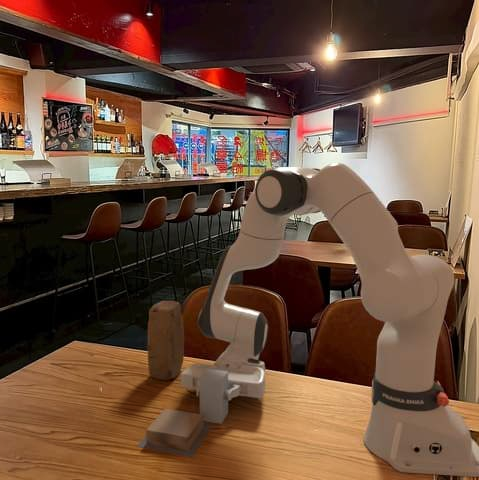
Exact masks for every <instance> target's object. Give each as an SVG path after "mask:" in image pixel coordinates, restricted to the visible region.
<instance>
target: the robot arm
mask: <svg viewBox="0 0 479 480" xmlns="http://www.w3.org/2000/svg"><path fill="white" fill-rule="evenodd" d="M320 212H321V213H322V215H324V216H323V217H325V219H326V220H327V221H328V223H329V224H330V226H331V227H332V228H333V230H334V231H335V232H336V234H337V236H338V237H339V239H340V240H341V242H343V244H344V246H345V247H346V249H347V250H348V252H349V254H350V255H351V257H352V259H353V261H354V263H355V266H356V269H357V271H358V275H359V278H360V281H361V287H360V288H361V289H360V297H361V302H362V305H363V307H364V309H365V310H366V311H367V313H368V314H369V315H370V316H372V317H373V318H374V319H376V320H378V321H380V322H383V323H384V325H383V327H382V329H381V331H380V333H379V335H378V338H377V341H376V358H375V359H376V360H375V361H376V362H375V364H376V365H375V372H374V374H373V376H372V380H371V381H372V382H371V402H372V405H371V411H370V417H369V419H368V424H367V427H366V429H365V432H364V434H363V442H364V445H365V446H366V448H367V449H368V450H369V451H370V452H372V453H373V454H374V455H376V456H377V457H379V458H380V459H383V460H384V461H386V462H387V463H388V464H390V465H391V466H392V468H393V469H394V470H396V471H397V472H400V473H410V474H411V473H412V474H424V475H425V474H427V475H440V476H455V477H469V478H470V477H472V478H473V477H474V478H478V477H479V445H478V444H477V442H476V441H475V440H474V439H472V436H471V431H470V428H469V426H468V425H467V422H466V421H465V420H464V418H463V417H462V416H461V414H459V413H458V412H456V410H454V409H453V408H452V407H450V406H449V403H450V400H449V397H448V395H447V394H446V393H445V391H444V388H443V387H442V386H441V383H440V382H439V380H436V381H435V379H434V378H435V368H436V354H437V348H438V342H439V338H440V333H441V330H442V327H443V323H444V319H445V315H446V310H447V305H448V301H449V298H450V295H451V292H452V289H454V285H455V273H454V272H453V269H452V268H451V266H450V265H449V264H448V262H447V261H445V260H444V259H442V258H440V257H438V256H436V255H435V256H434V255H431V254H430V255H429V254H415V255H412V256H410V255H409V253H408V251H407V250H406V248H405V246H404V244H403V241H402V239H401V237H400V234H399V223H398V221H397V220H396V219H395V218H394V216H393V215H392V214H391V213H390V211H389V210H388V209H387V207H385V204H383V203H382V201H381V200H380V199H379V197H378V196H377V194H376V193H375V192H374V191H373V189H372V188H371V187H370V186H369V185H368V184H367V183H366V182H365V180H363V179H362V178H361V176H359V174H357V173H356V172H355V171H354V170H353V169H352V168H350V167H349V166H348V165H346V164H344V163H341V162H335V163H334V162H333V163H330V164H328V165H325V166H324V167H323V168H316V167H315V168H311V167H310V168H309V167H302V166H286V167H284V166H283V167H280V166H279V167H273V168H270V169H268V170H266V171H264V172H263V173H261V174H260V175H259V177H258V179H257V180H256V183H255V188H254V191H253V192H252V193H250V195H249V197H248V199H247V201H246V204H245V207H244V211H243V214H242V217H241V218H242V219H241V223H240V230H239V233H238V236H237V239H236V240H235V242H234V243H233V244H231V245H227V246H226V247H225V249H224V250H223V252H222V253H221V256H220V258H219V261H218V263H217V266H216V269H215V272H214V275H213V278H212V280H211V284H210V287H209V290H208V292H207V295H206V299H205V301H204V304H203V305H202V308H201V310H200V312H199V315H198V320H197V326H198V328H199V330H200V332H201V334H202V335H203V336H204V337H205V338H210V339H215V340H221V341H225V342H227V343H230V344H229V345H228V346H227V348H226V349H225V351H223V352H222V353H221V354H220V355H219V357H217V359H216V360H215V361H214V363H213V364H208V363H200V362H195V363H192V364H191V365H189V366H187V367H186V368H184V370H182V372H181V373H180V385H181V386H182V387H183V388H185V389H193V390H195V391H196V392H195V393H196V396H197V397H200V377H201V376H202V375H203V373H204V372H205V371H206V370H207V369H213V370H221V371H228V390H225V392H224V400H228V402H229V401H231V400H233V398H236V397H238V396H239V397H240V396H241V397H248V398H256V399H260V398H262V397H264V395H265V392H266V391H265V390H266V366H265V362H264V361H261V360H259V357H260V355H261V353H262V352H263V350H264V348H265V346H266V343H267V341H268V338H269V337H268V336H269V330H270V327H269V323H268V320H267V318H266V316H265V315H264V313H263V312H262V311H261V312H260V311H257V310H254V309H250V308H247V307H242V306H238V305H235V304H231V303H227V302H226V300H225V296H226V293H227V290H228V287H229V285H230V281H231V279H232V276H233V275H234V274H235V273H237V272H242V271H246V270H256V269H257V270H258V269H260V268H261V269H262V268H265V267H267V266H270V264H272V263H274V262H275V261H276V260H277V259H278V258H279V256H280V253H281V251H282V247H283V243H284V239H285V234H286V227H287V222H288V220H289V218H290V217H291V216H304V215H309V214H317V213H318V214H319V213H320Z"/></svg>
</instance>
